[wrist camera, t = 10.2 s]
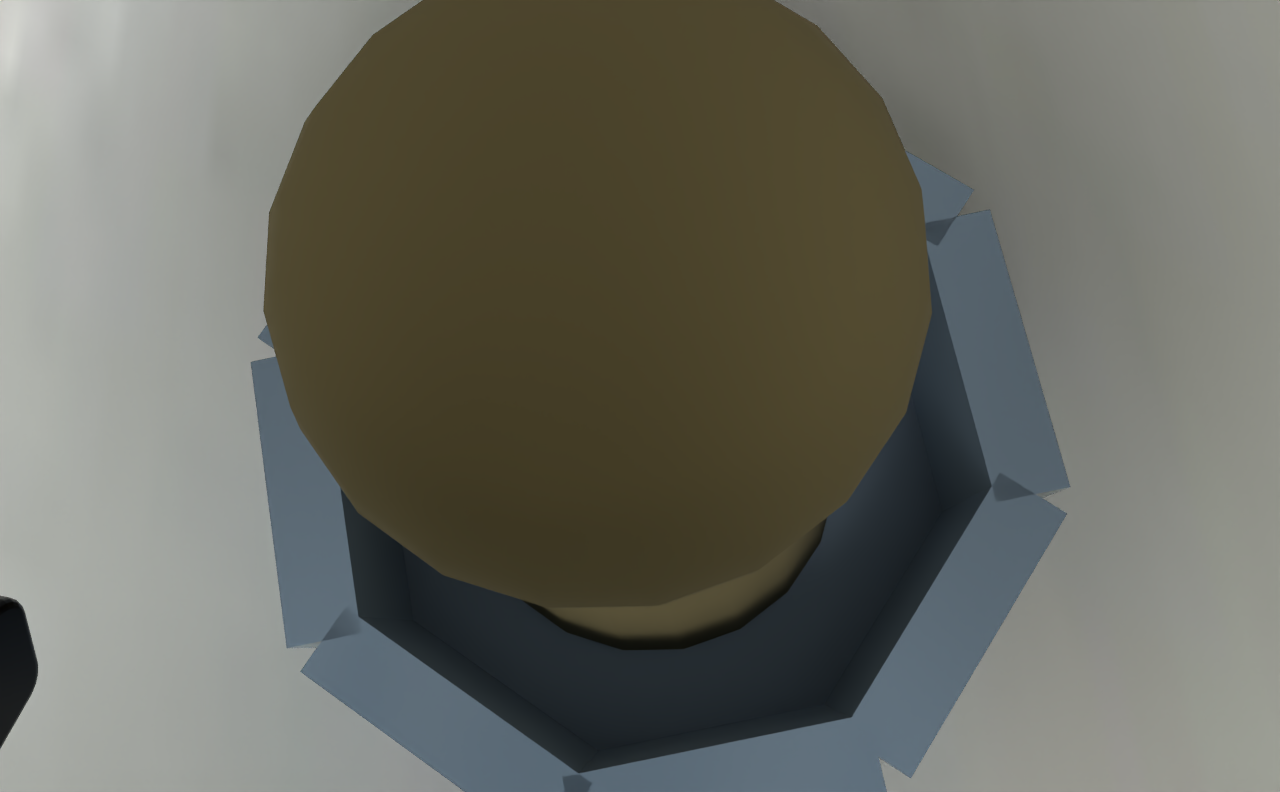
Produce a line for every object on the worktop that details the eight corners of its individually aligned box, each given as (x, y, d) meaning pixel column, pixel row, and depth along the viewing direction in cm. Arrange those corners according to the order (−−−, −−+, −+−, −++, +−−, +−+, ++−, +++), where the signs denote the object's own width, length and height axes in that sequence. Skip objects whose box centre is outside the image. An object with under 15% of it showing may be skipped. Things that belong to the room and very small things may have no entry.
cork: (722, 223, 19) (755, -330, 8) (907, 537, 17) (1240, 379, 7) (404, 389, 18) (-4, 44, 8) (569, 722, 17) (356, 865, 6)
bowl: (1084, 378, 19) (1185, 310, 15) (752, 929, 17) (770, 1014, 13) (576, 77, 21) (550, -54, 17) (230, 555, 19) (111, 532, 15)
